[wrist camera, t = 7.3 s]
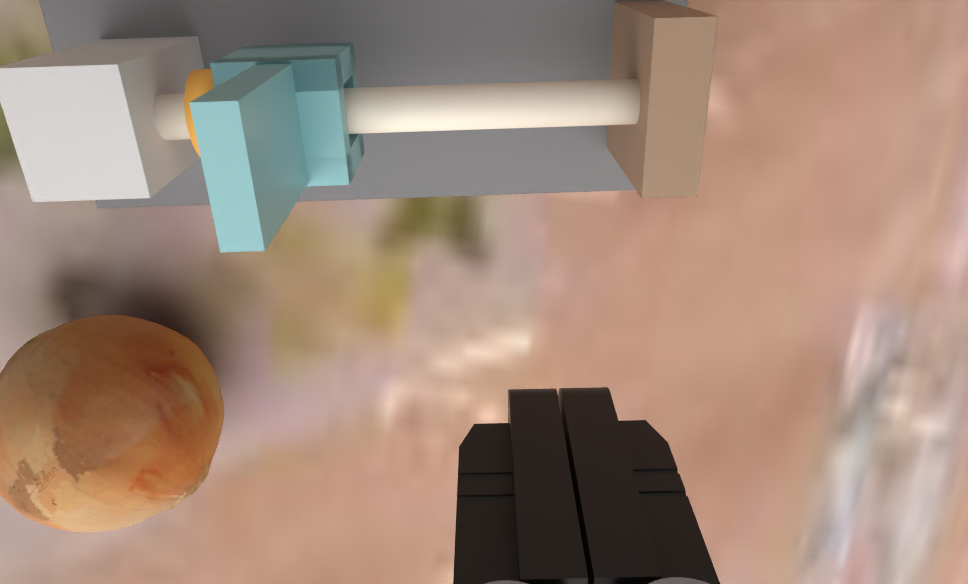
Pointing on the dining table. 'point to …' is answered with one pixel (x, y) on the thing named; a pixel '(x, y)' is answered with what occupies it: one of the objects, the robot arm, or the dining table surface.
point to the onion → (106, 423)
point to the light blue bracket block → (273, 135)
